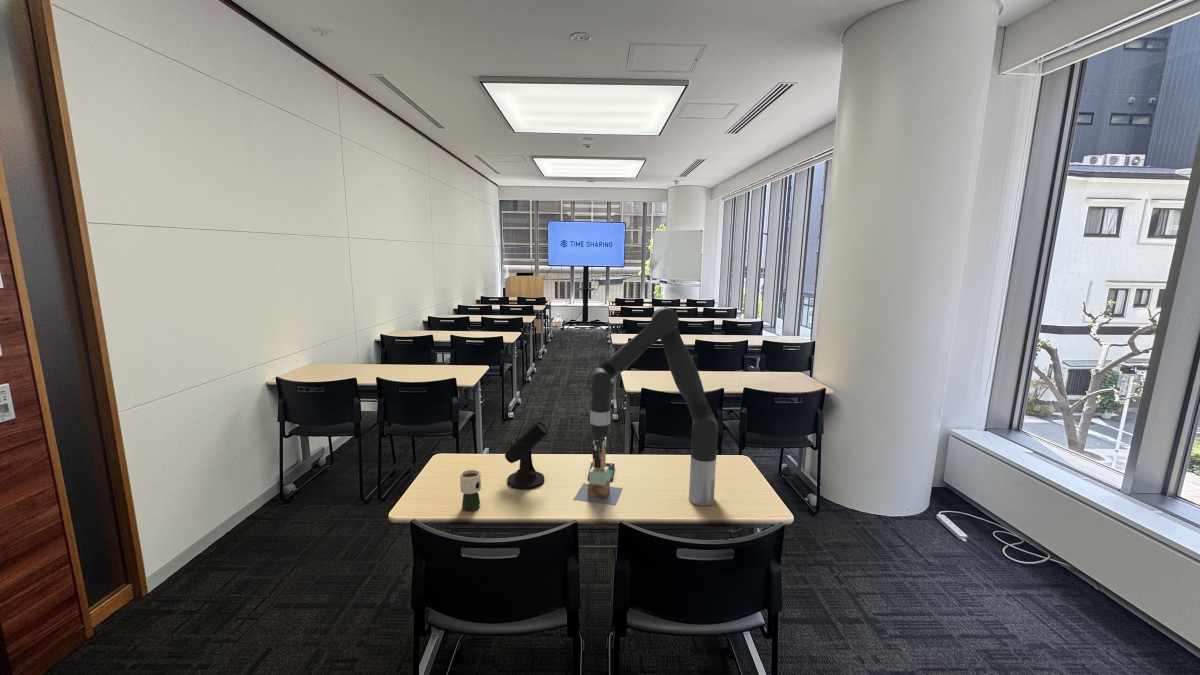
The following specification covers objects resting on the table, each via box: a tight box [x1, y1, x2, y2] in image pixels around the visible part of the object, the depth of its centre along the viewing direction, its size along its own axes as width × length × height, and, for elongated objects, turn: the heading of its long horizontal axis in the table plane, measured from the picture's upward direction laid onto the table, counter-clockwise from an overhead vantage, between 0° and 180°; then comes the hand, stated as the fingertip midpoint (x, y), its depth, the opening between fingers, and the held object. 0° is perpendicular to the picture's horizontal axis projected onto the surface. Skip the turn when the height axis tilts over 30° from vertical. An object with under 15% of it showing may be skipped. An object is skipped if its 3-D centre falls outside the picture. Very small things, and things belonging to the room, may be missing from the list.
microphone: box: [504, 421, 549, 491], centre depth 194 cm, size 15×17×25 cm
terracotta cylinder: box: [592, 449, 607, 469], centre depth 182 cm, size 5×5×6 cm
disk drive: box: [587, 461, 616, 483], centre depth 203 cm, size 10×3×15 cm
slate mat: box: [573, 482, 624, 507], centre depth 185 cm, size 16×14×1 cm
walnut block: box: [587, 478, 611, 499], centre depth 184 cm, size 7×7×5 cm
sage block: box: [588, 466, 609, 486], centre depth 183 cm, size 6×6×5 cm
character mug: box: [459, 469, 482, 511], centre depth 173 cm, size 11×7×13 cm, turn 4°
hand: (599, 464), depth 183 cm, fingers closed on terracotta cylinder, 4 cm apart
